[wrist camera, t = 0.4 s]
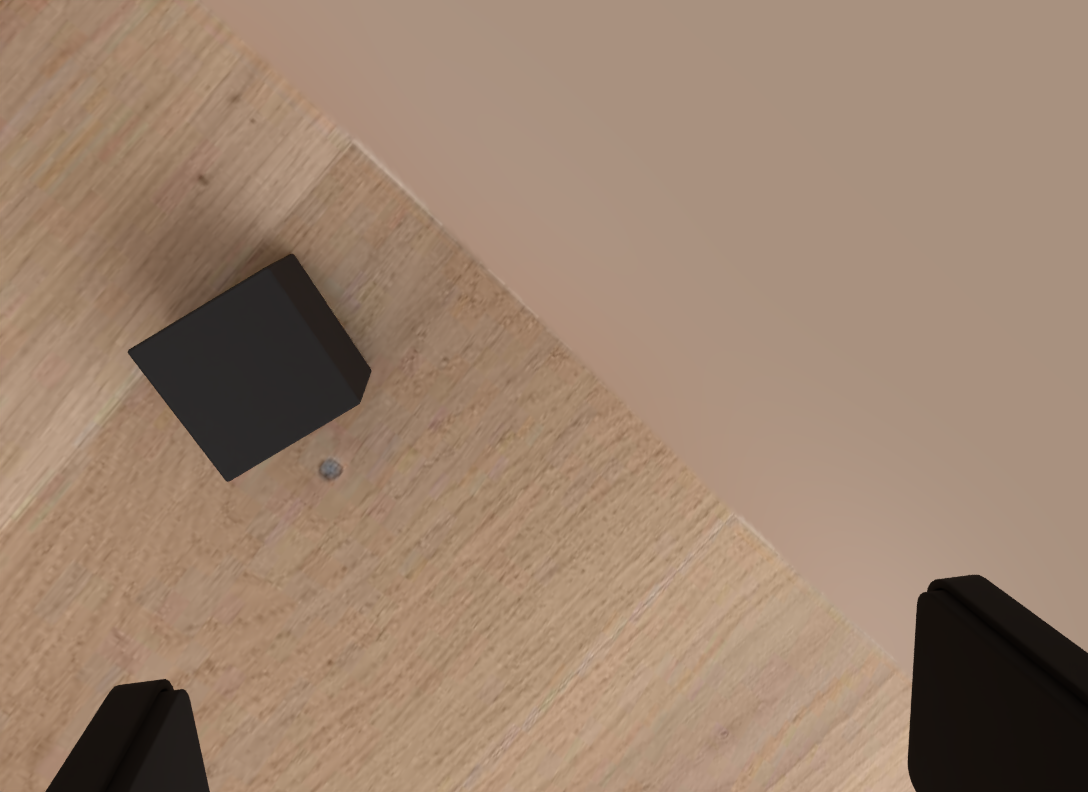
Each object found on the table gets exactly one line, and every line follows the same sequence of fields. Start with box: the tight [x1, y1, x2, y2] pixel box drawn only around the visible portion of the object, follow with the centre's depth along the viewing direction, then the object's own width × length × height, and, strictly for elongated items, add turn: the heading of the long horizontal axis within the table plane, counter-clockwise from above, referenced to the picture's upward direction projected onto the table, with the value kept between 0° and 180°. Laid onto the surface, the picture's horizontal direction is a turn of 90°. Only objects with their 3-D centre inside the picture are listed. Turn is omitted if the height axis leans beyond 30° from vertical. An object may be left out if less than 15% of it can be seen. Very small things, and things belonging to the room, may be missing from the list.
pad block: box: [128, 254, 371, 482], centre depth 24 cm, size 4×4×4 cm
